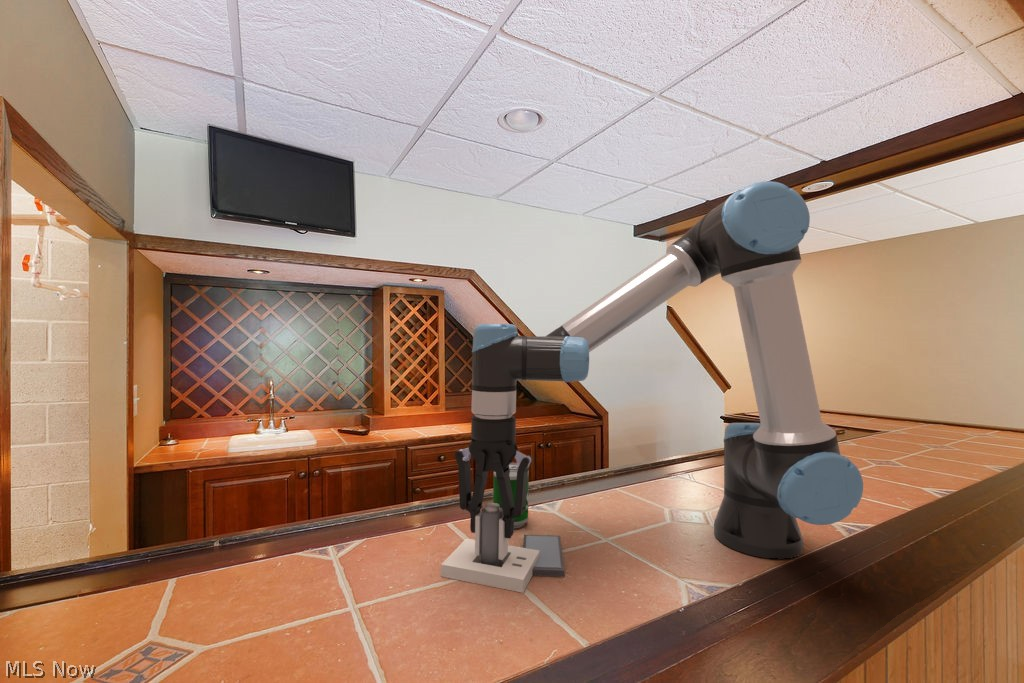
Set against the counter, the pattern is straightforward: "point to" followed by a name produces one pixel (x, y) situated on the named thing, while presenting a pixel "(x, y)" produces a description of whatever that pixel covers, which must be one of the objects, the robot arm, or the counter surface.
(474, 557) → the outlet
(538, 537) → the phone
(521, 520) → the soda can
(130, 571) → the counter surface
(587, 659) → the counter surface
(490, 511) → the plug
